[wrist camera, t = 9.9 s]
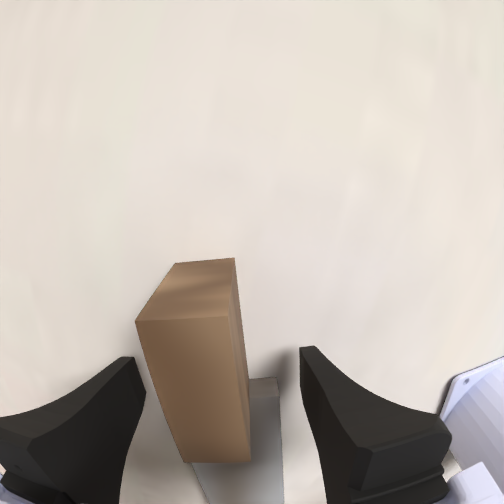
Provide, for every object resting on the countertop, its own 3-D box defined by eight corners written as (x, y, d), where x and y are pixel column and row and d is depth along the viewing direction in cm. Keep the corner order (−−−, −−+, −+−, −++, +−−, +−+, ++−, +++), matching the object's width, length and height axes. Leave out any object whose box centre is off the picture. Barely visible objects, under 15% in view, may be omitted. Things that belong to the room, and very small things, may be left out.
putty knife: (267, 254, 12) (281, 310, 7) (283, 514, 18) (288, 561, 13) (145, 265, 12) (92, 321, 7) (223, 517, 18) (221, 564, 13)
